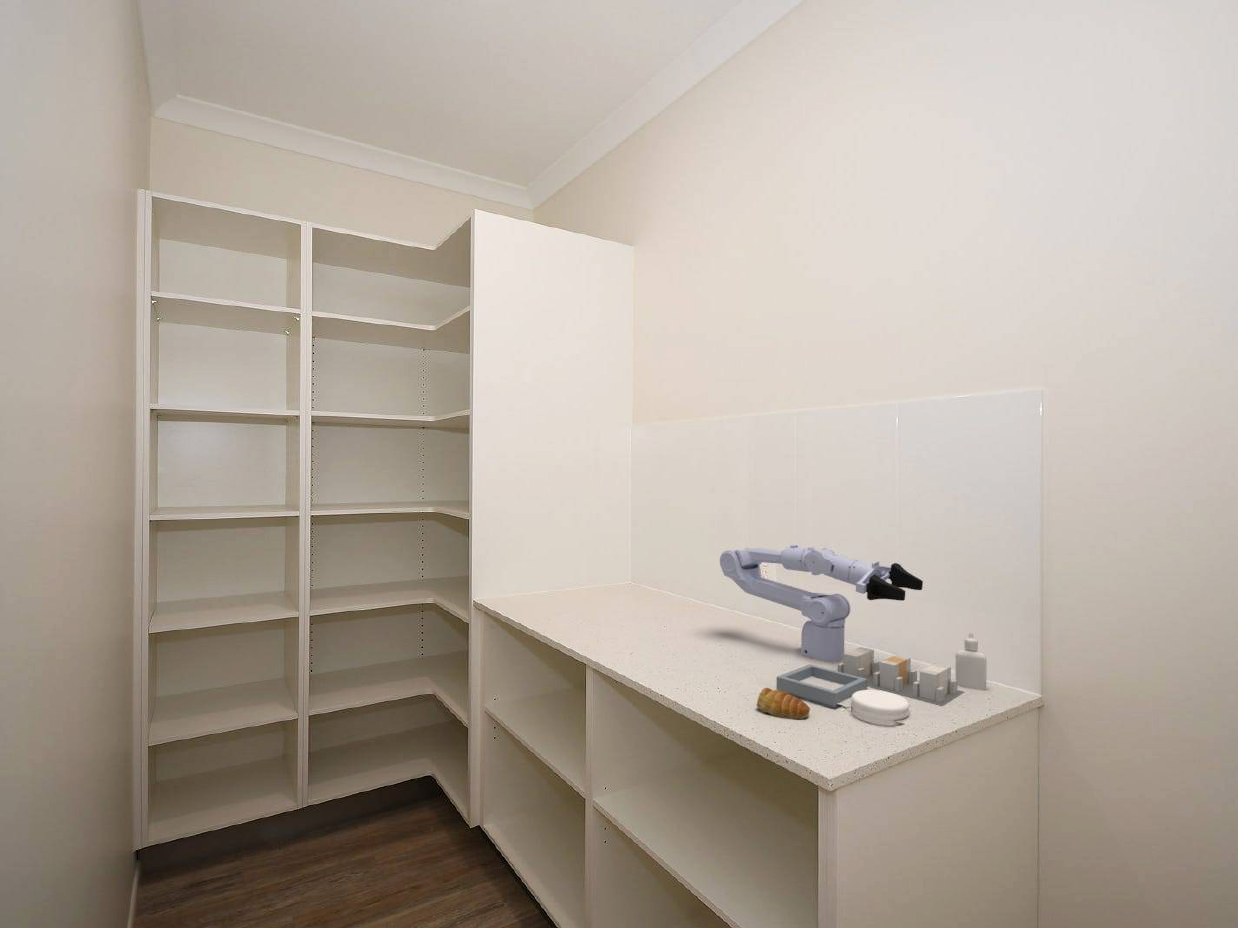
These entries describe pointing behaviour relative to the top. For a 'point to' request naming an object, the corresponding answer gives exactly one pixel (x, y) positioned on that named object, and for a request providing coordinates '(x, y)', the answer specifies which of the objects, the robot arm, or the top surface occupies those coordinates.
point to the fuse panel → (907, 685)
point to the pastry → (782, 704)
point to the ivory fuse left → (858, 661)
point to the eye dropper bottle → (971, 665)
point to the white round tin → (879, 707)
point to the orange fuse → (894, 671)
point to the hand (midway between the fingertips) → (913, 590)
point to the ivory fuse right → (934, 680)
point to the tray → (818, 694)
